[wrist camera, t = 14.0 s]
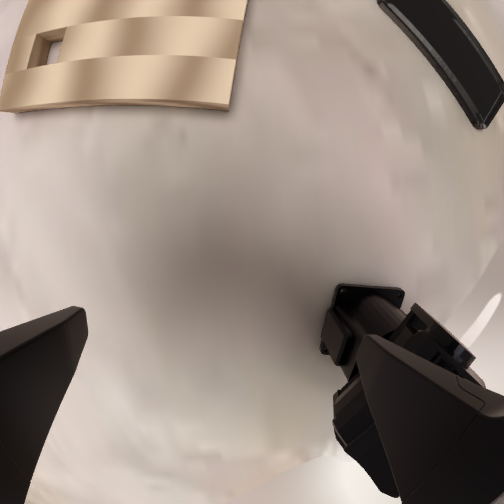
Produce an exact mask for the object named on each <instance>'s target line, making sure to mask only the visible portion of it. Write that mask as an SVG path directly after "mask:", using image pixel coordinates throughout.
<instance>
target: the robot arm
mask: <svg viewBox="0 0 504 504" xmlns="http://www.w3.org/2000/svg"><path fill="white" fill-rule="evenodd" d="M341 289H344V291H343V292H340V291H341ZM399 293H400V295H399V296H398V294H399ZM404 296H405V292H404V291H403V290H402V289H401V288H392V287H379V286H366V285H354V284H339V285H338V286H337V287H336V290H335V294H334V298H333V302H332V305H331V308H330V309H329V310H328V312H327V315H326V319H325V323H324V326H323V330H322V333H321V337H322V341H321V345H320V351H321V353H322V354H324V355H330V356H331V358H332V360H333V362H334V364H335V365H336V366H341V368H342V370H343V372H344V374H345V376H346V378H347V380H348V383H347V384H346V385H345V386H344V387H343V388H342V389H341V390H338V391H337V392H336V393H335V394H334V395H333V406H334V419H333V426H334V433H335V435H336V439H337V441H338V442H339V443H340V445H341V446H342V447H343V449H344V451H345V452H346V453H347V454H348V455H350V456H351V457H352V458H353V459H355V460H356V461H357V462H358V463H359V464H360V465H361V466H362V467H363V468H364V469H365V471H366V472H367V473H368V475H369V476H370V477H371V479H372V480H373V482H374V483H375V485H376V486H377V487H378V489H379V490H380V491H381V492H382V493H385V494H387V495H389V496H391V497H394V498H398V497H399V496H400V498H401V501H402V504H504V396H503V395H500V394H498V393H495V392H493V391H490V390H488V389H486V387H485V384H484V382H483V380H482V379H481V378H480V377H479V376H478V375H477V374H476V373H475V372H474V371H473V370H472V369H470V367H469V366H470V365H471V363H472V362H473V361H474V360H475V358H476V357H475V356H474V355H473V354H472V353H471V352H470V351H469V350H468V349H467V348H466V347H465V346H464V345H463V344H462V343H461V342H460V341H459V340H458V339H457V338H456V337H455V336H454V335H452V334H451V333H450V332H449V331H448V330H447V329H446V328H445V327H444V326H442V325H441V324H440V323H439V322H438V321H437V320H435V319H434V318H433V317H432V316H431V315H430V314H428V313H427V312H426V311H425V310H424V309H422V308H421V307H420V306H419V305H418V304H417V303H414V305H413V306H412V307H411V311H410V312H409V314H408V315H406V314H405V313H404V312H403V311H402V310H401V309H400V308H401V305H402V302H403V299H404ZM87 337H88V326H87V319H86V312H85V310H84V308H81V307H76V306H71V307H69V308H66V309H63V310H60V311H57V312H54V313H51V314H49V315H46V316H43V317H40V318H37V319H34V320H32V321H29V322H26V323H23V324H20V325H17V326H15V327H12V328H9V329H6V330H3V331H1V332H0V504H24V502H25V499H26V496H27V492H28V489H29V486H30V483H31V482H30V481H31V479H32V476H33V473H34V470H35V467H36V465H37V462H38V459H39V456H40V454H41V451H42V448H43V446H44V443H45V440H46V438H47V435H48V433H49V430H50V428H51V425H52V423H53V421H54V418H55V416H56V414H57V411H58V409H59V407H60V404H61V402H62V400H63V398H64V395H65V393H66V391H67V389H68V387H69V385H70V382H71V380H72V378H73V376H74V373H75V371H76V368H77V365H78V362H79V359H80V357H81V354H82V351H83V348H84V346H85V343H86V340H87ZM325 348H327V349H326V350H324V349H325Z"/></svg>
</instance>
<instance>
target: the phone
mask: <svg viewBox="0 0 504 504" xmlns="http://www.w3.org/2000/svg"><path fill="white" fill-rule="evenodd" d="M377 3H378V5H379V7H380V8H381V9H382V10H383V11H384V12H385V13H386V14H387V15H388V16H389V17H390V18H391V19H392V20H393V21H394V22H395V23H396V24H397V25H398V26H399V27H400V28H401V29H402V31H403V32H404V33H405V34H406V35H407V36H408V37H409V38H410V39H411V41H412V42H413V43H414V44H415V45H416V46H417V47H418V49H419V50H420V51H421V52H422V53H423V55H424V56H425V57H426V58H427V60H428V61H429V62H430V63H431V65H432V66H433V67H434V68H435V70H436V71H437V72H438V74H439V75H440V76H441V78H442V79H443V81H444V82H445V83H446V85H447V86H448V88H449V89H450V90H451V92H452V93H453V95H454V96H455V98H456V99H457V101H458V102H459V104H460V105H461V107H462V109H463V110H464V112H465V113H466V115H467V117H468V118H469V120H470V122H471V123H472V125H473V126H474V127H475V128H477V129H486V128H487V127H488V126H489V124H490V123H491V121H492V120H493V118H494V117H495V115H496V114H497V112H498V110H499V109H500V107H501V106H502V104H503V103H504V81H503V79H502V78H501V76H500V74H499V73H498V71H497V69H496V68H495V66H494V64H493V63H492V61H491V60H490V58H489V57H488V55H487V54H486V52H485V51H484V49H483V48H482V46H481V45H480V43H479V42H478V40H477V39H476V38H475V36H474V35H473V34H472V32H471V31H470V30H469V28H468V27H467V26H466V24H465V23H464V22H463V20H462V19H461V18H460V17H459V15H458V14H457V13H456V12H455V11H454V9H453V8H452V7H451V6H450V5H449V4H448V2H447V1H446V0H377Z"/></svg>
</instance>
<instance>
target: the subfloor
mask: <svg viewBox="0 0 504 504" xmlns="http://www.w3.org/2000/svg"><path fill="white" fill-rule="evenodd" d="M247 3H248V0H29V1H28V4H27V6H26V9H25V11H24V14H23V16H22V19H21V22H20V25H19V28H18V30H17V33H16V37H15V40H14V43H13V46H12V50H11V53H10V57H9V60H8V64H7V68H6V72H5V76H4V81H3V86H2V90H1V96H0V111H2V112H11V113H20V112H27V111H35V110H43V109H53V108H64V107H78V106H99V105H156V106H178V107H193V108H205V109H216V110H225V111H229V106H230V100H231V93H232V87H233V81H234V75H235V69H236V63H237V57H238V51H239V46H240V40H241V35H242V29H243V24H244V19H245V13H246V8H247ZM61 40H63V42H62V45H61V49H60V52H59V56H58V60H57V63H55V64H49V65H46V61H47V57H48V54H49V50H50V46H51V43H52V42H56V41H61Z"/></svg>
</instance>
